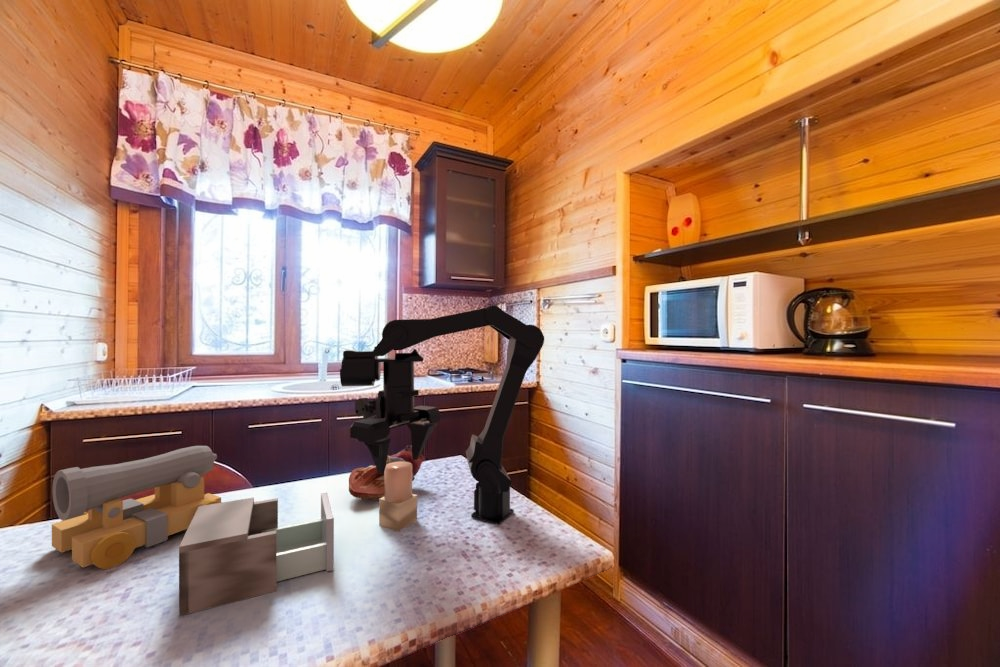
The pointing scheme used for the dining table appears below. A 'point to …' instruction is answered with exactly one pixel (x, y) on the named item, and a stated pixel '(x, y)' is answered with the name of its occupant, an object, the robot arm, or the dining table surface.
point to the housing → (228, 554)
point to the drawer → (305, 545)
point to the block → (397, 513)
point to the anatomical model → (379, 476)
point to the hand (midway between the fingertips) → (399, 466)
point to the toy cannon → (128, 504)
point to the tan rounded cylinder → (398, 482)
